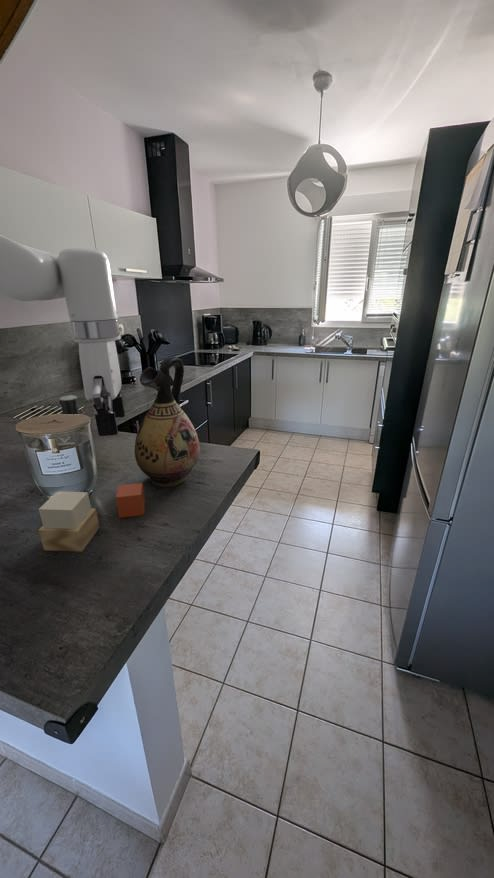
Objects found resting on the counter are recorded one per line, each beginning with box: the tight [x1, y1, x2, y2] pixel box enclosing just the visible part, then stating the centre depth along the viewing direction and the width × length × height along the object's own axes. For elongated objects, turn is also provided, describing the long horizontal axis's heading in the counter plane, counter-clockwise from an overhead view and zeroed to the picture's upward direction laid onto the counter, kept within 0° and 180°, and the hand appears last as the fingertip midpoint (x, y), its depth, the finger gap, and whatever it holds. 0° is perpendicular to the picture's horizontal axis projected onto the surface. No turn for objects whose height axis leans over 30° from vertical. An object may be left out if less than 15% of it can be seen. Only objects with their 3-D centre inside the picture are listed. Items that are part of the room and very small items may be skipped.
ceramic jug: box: [134, 356, 201, 488], centre depth 84 cm, size 17×15×30 cm
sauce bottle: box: [58, 395, 81, 415], centre depth 90 cm, size 6×6×20 cm
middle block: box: [38, 491, 92, 529], centre depth 65 cm, size 6×6×4 cm
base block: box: [38, 507, 101, 553], centre depth 67 cm, size 7×7×4 cm
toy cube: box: [115, 482, 146, 519], centre depth 76 cm, size 5×5×5 cm
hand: (112, 425), depth 67 cm, fingers open, 9 cm apart
